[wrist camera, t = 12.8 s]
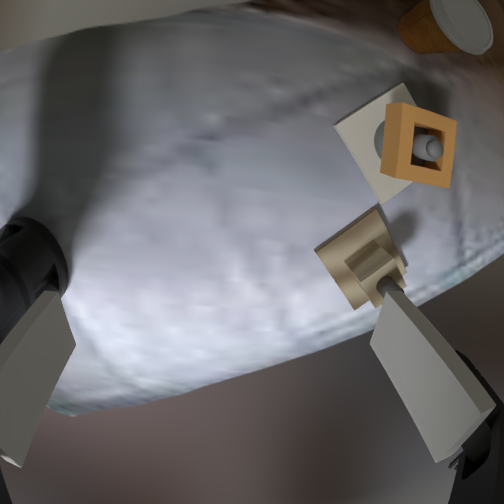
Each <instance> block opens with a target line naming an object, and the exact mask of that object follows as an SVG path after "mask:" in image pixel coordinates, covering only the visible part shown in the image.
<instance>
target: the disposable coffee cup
mask: <svg viewBox="0 0 504 504" xmlns="http://www.w3.org/2000/svg"><path fill="white" fill-rule="evenodd" d="M398 31H399V34H400V36H401V38H402V40H403V41H404V43H405V44H406V45H407V46H408V47H409V48H410V49H412V50H413V51H415V52H417V53H421V54H425V53H442V52H468V53H470V54H474V55H481V54H483V53H484V52H485V51H486V50H487V49H488V48H490V47H491V45H492V43H493V30H492V26H491V23H490V21H489V18H488V16H487V14H486V12H485V11H484V9H483V8H482V6H481V5H480V3H479V2H478V1H477V0H422V1H421V2H419V3H418V4H417V5H416V6H414V7H413V8H412V9H411V10H410V11H409V12H407V13H406V14H405V15H404V16H403V17H401V18H400V20H399V22H398Z"/></svg>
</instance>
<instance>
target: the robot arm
mask: <svg viewBox="0 0 504 504" xmlns="http://www.w3.org/2000/svg"><path fill="white" fill-rule="evenodd" d="M67 282H68V272H67V266H66V261H65V258H64V255H63V253H62V250H61V248H60V246H59V245H58V243H57V241H56V240H55V238H54V237H53V235H52V234H51V233H50V232H49V231H48V230H47V229H46V228H45V227H44V226H43V225H42V224H40V223H39V222H37V221H35V220H33V219H30V218H25V217H21V218H17V219H14V220H12V221H11V222H9V223H7V224H6V225H4V226H3V227H2V228H1V229H0V455H1V456H2V457H3V458H4V459H5V460H6V461H8V462H10V463H12V464H14V465H16V466H18V467H20V468H22V465H23V462H24V459H25V456H26V454H27V451H28V448H29V446H30V443H31V440H32V438H33V435H34V433H35V430H36V428H37V425H38V423H39V421H40V418H41V416H42V414H43V411H44V409H45V407H46V405H47V402H48V400H49V398H50V396H51V394H52V392H53V390H54V387H55V385H56V383H57V381H58V379H59V377H60V375H61V373H62V371H63V369H64V367H65V365H66V363H67V361H68V359H69V357H70V356H71V354H72V352H73V350H74V348H75V346H76V343H75V340H74V337H73V335H72V332H71V329H70V326H69V323H68V320H67V317H66V314H65V311H64V308H63V305H62V302H61V297H62V296H63V294H64V293H65V290H66V287H67ZM370 345H371V346H372V348H373V350H374V351H375V353H376V355H377V357H378V358H379V360H380V362H381V363H382V365H383V367H384V369H385V370H386V372H387V374H388V375H389V377H390V379H391V381H392V382H393V384H394V386H395V387H396V389H397V391H398V393H399V395H400V396H401V398H402V400H403V402H404V404H405V405H406V407H407V409H408V411H409V413H410V414H411V416H412V418H413V420H414V422H415V424H416V426H417V428H418V429H419V431H420V433H421V435H422V437H423V439H424V441H425V443H426V445H427V447H428V449H429V451H430V453H431V455H432V457H433V459H434V461H435V462H436V463H437V462H439V461H441V460H443V459H445V458H447V457H449V456H451V455H452V454H453V453H454V452H455V451H456V450H458V448H459V447H460V446H462V448H463V452H461V454H459V455H458V457H456V458H455V459H454V460H453V461H452V462H451V463H450V465H449V468H452V467H453V466H454V465H455V464H456V463H457V462H458V461H459V462H458V465H457V466H456V467H455V468H454V469H455V470H457V472H456V476H455V480H454V484H453V488H452V492H451V495H450V499H449V502H448V504H504V403H503V402H502V401H501V400H500V399H499V397H498V396H497V395H496V393H495V392H494V391H493V389H492V388H491V387H490V386H489V384H488V383H487V382H486V380H485V379H484V378H483V376H481V374H480V373H479V371H478V370H477V369H475V366H474V365H473V364H472V363H471V361H470V360H469V359H468V358H467V357H466V356H464V355H463V354H461V353H460V352H459V351H457V350H456V351H454V350H453V349H452V347H451V346H450V345H449V344H448V342H447V341H446V340H445V339H444V338H443V337H442V335H441V334H440V333H439V332H438V331H437V330H436V329H435V327H434V326H433V325H432V324H431V323H430V322H429V321H428V319H427V318H426V317H425V316H424V315H423V314H422V313H421V312H420V311H419V310H418V309H417V307H416V306H415V305H414V304H413V303H412V302H411V301H410V300H409V299H408V298H407V296H406V295H405V294H404V293H403V292H402V291H387V292H386V294H385V297H384V301H383V304H382V307H381V311H380V314H379V317H378V320H377V323H376V327H375V330H374V333H373V336H372V339H371V341H370ZM0 504H12V501H11V498H10V496H9V493H8V490H7V487H6V484H5V481H4V478H3V475H2V471H1V468H0Z"/></svg>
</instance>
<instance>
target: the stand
mask: <svg viewBox="0 0 504 504" xmlns="http://www.w3.org/2000/svg"><path fill="white" fill-rule="evenodd" d="M314 251H315V253H316V254H317V255H318V257H319V258H320V260H321V261H322V263H323V264H324V266H325V267H326V269H327V270H328V271H329V273H330V274H331V276H332V277H333V279H334V280H335V282H336V283H337V285H338V286H339V288H340V289H341V291H342V292H343V294H344V295H345V297H346V298H347V300H348V301H349V303H350V304H351V306H352V307H353V309H354V310H356V309H357V308H359V307H360V306H362V305H363V304H364V303H366V302H367V301H369V300H370V301H371V303H372V304H373V306H374V307H375V308H377V307H379V306H380V305H381V304H383V301H384V297H385V294H386V292H387V291H402V292H403V293H404V290H403V288H404V287H406V284H405V282H404V279H403V277H402V276H403V275H404V274H405V273H407V271H406V269H405V267H404V264H403V262H402V260H401V258H400V256H399V253H398V251H397V249H396V247H395V245H394V243H393V241H392V239H391V236H390V234H389V232H388V230H387V228H386V226H385V224H384V222H383V220H382V218H381V217H380V215H379V213H378V211H377V209H376V208H374V207H373V208H371V209H370V210H368V211H367V212H366V213H364V214H363V215H362V216H360V217H359V218H358V219H356V220H355V221H353V222H352V223H351V224H349V225H348V226H347V227H345V228H344V229H342V230H341V231H340V232H338V233H337V234H335V235H334V236H333V237H331V238H330V239H328V240H327V241H326V242H324V243H323V244H321V245H320V246H319V247H317V248H316V249H314Z"/></svg>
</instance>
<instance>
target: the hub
mask: <svg viewBox="0 0 504 504" xmlns="http://www.w3.org/2000/svg"><path fill="white" fill-rule="evenodd" d="M401 102H403V103H406V104H409V105H413V106H416V104H415V102H414V100H413V98H412V97H411V95H410V93H409V91H408V89H407V88H406V86H405V84H404V83H400V84H398V85H396V86H395V87H393V88H391V89H390V90H388V91H386V92H385V93H383V94H381V95H380V96H378V97H377V98H375V99H373V100H372V101H370V102H369V103H367V104H365V105H364V106H362V107H361V108H359V109H358V110H356V111H354V112H353V113H351V114H350V115H348V116H347V117H345V118H344V119H342V120H341V121H339V122H338V123H336V124H335V125H333V126H334V128H335V129H336V131H337V132H338V134H339V135H340V137H341V138H342V140H343V142H344V143H345V145H346V146H347V148H348V150H349V151H350V153H351V154H352V156H353V158H354V159H355V161H356V163H357V165H358V166H359V168H360V170H361V171H362V173H363V175H364V177H365V178H366V180H367V182H368V184H369V186H370V187H371V189H372V191H373V193H374V195H375V197H376V198H377V200H378V202H379V203H380V204H382V205H383V204H384V203H385V202H387V201H388V200H389V199H391V198H392V197H393V196H395V195H396V194H397V193H398V192H400V191H401V190H402V189H404V188H405V187H406V186H408V185H409V184H410V183H412V182H413V181H408V180H403V179H397V178H393V177H390V176H388V175H385V174H382V173H380V166H381V158H382V149H383V139H384V127H385V113H386V104H391V103H401ZM416 107H417V106H416ZM443 152H444V148H443V145H442V143H441V142H440V141H439V140H438V138H437V137H435V136H432V135H428V130H426V129H423V128H420V127H416V126H414V136H413V146H412V155H411V163H410V164H415V165H419V166H424V164H425V160H428V161H436V160H437V159H438V158H440V157H441V156H442V155H443Z"/></svg>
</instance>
